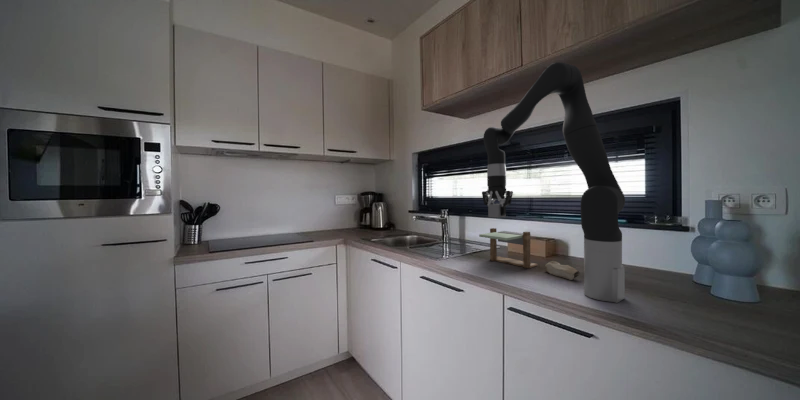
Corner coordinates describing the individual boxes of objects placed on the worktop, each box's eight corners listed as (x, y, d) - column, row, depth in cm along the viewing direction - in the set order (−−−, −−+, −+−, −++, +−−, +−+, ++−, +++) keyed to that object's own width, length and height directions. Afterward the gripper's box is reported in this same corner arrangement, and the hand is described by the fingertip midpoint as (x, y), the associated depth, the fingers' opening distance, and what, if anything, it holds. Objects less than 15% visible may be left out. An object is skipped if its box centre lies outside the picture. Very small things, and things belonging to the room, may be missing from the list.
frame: (537, 265, 121) (537, 231, 120) (528, 268, 116) (528, 232, 116) (498, 258, 136) (498, 227, 136) (489, 260, 132) (489, 228, 131)
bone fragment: (542, 271, 112) (542, 260, 112) (557, 271, 113) (557, 259, 113) (565, 282, 99) (565, 269, 99) (582, 281, 100) (582, 268, 99)
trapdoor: (531, 243, 123) (531, 233, 122) (507, 249, 112) (507, 238, 112) (503, 240, 134) (503, 230, 133) (479, 244, 123) (479, 234, 123)
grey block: (498, 217, 115) (498, 204, 115) (488, 217, 119) (488, 204, 119) (505, 216, 118) (505, 203, 118) (495, 216, 122) (495, 203, 122)
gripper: (477, 176, 122) (477, 215, 122) (506, 173, 111) (506, 216, 111) (487, 176, 127) (488, 214, 127) (517, 174, 115) (517, 215, 115)
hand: (496, 215), depth 119 cm, fingers closed on grey block, 5 cm apart
